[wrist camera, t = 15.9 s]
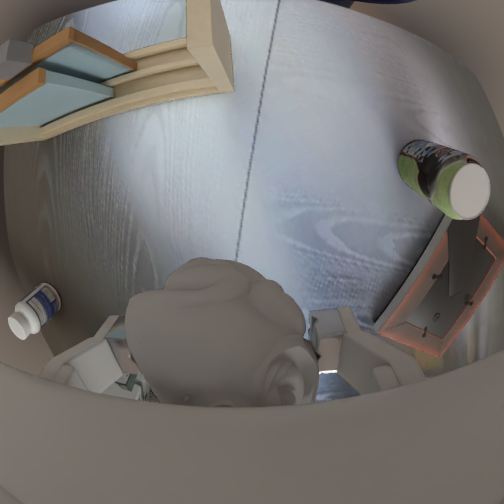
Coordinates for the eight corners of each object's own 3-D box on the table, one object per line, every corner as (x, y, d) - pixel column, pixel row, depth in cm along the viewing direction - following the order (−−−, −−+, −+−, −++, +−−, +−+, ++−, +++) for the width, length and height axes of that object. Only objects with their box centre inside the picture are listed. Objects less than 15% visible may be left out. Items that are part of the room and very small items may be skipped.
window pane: (62, 88, 22) (-33, 79, 7) (136, 59, 21) (46, 10, 7) (62, 102, 23) (-36, 99, 8) (137, 74, 22) (41, 33, 8)
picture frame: (454, 191, 27) (371, 323, 34) (465, 195, 25) (377, 334, 32) (502, 245, 29) (433, 349, 37) (511, 251, 27) (439, 358, 34)
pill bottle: (44, 307, 36) (13, 339, 27) (36, 279, 34) (0, 309, 25) (65, 312, 36) (33, 347, 27) (57, 283, 34) (20, 316, 25)
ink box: (153, 385, 40) (134, 439, 30) (127, 376, 40) (103, 427, 29) (156, 353, 37) (131, 412, 26) (127, 342, 37) (96, 397, 26)
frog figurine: (246, 366, 14) (238, 482, 8) (137, 291, 12) (66, 399, 6) (331, 296, 12) (378, 423, 6) (211, 194, 11) (139, 277, 4)
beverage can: (440, 159, 26) (508, 174, 15) (415, 207, 28) (477, 240, 17) (406, 127, 25) (474, 127, 14) (379, 178, 27) (440, 200, 16)
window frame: (44, 94, 23) (-32, 90, 10) (230, 36, 22) (208, -37, 9) (45, 140, 26) (-35, 152, 13) (234, 91, 24) (212, 43, 11)
